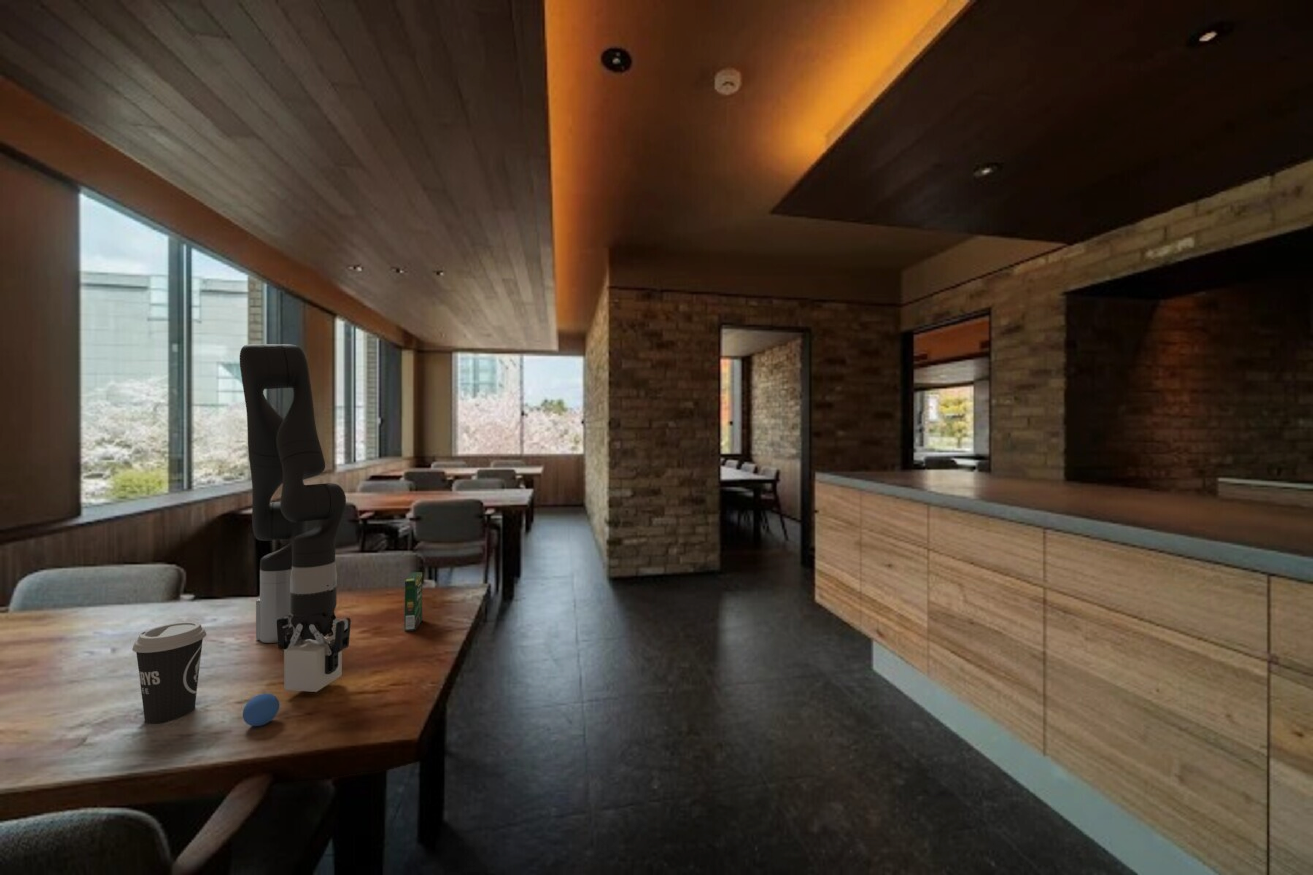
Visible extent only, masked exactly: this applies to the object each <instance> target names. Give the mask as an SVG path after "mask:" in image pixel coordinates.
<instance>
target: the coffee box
mask: <svg viewBox="0 0 1313 875" xmlns="http://www.w3.org/2000/svg"><path fill="white" fill-rule="evenodd" d="M422 620H423V572H418V571H415V572H411V574H410V575H409V576H408V578H406V580H405V581H404V632H415V631H416V630H417V629H418V627H419V626H420V623H422ZM414 630H415V631H414Z"/></svg>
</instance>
